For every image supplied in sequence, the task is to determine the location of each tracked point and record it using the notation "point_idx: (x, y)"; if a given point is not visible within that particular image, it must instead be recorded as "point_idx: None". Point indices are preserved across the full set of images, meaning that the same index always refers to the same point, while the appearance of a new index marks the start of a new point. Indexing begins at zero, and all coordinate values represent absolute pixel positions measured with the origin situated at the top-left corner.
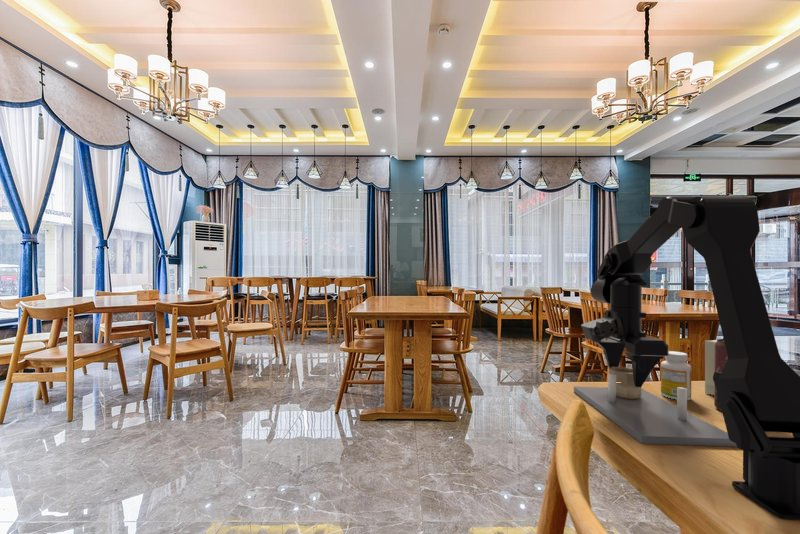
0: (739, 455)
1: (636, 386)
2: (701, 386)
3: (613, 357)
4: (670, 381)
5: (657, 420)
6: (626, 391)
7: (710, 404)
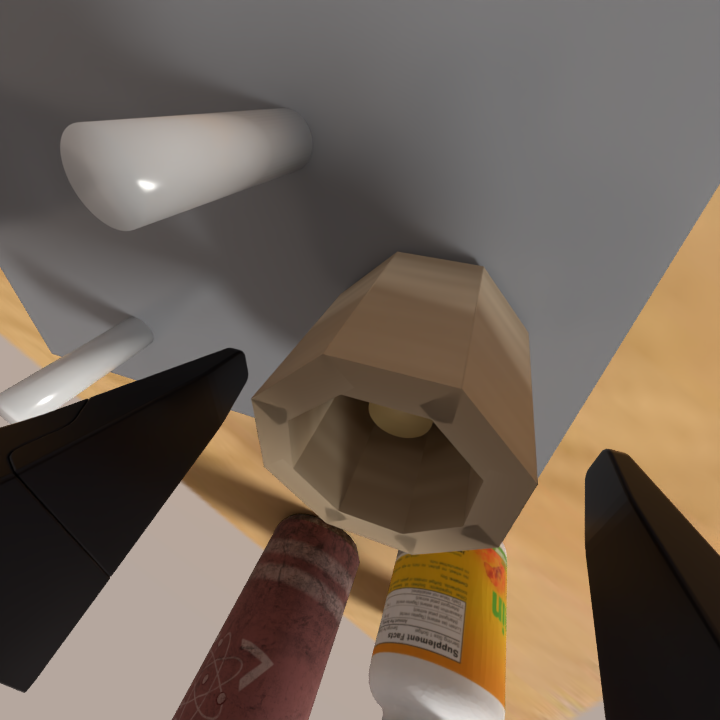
0: (15, 295)
1: (230, 350)
2: (539, 663)
3: (658, 670)
4: (417, 583)
5: (76, 215)
6: (326, 312)
7: (374, 546)
